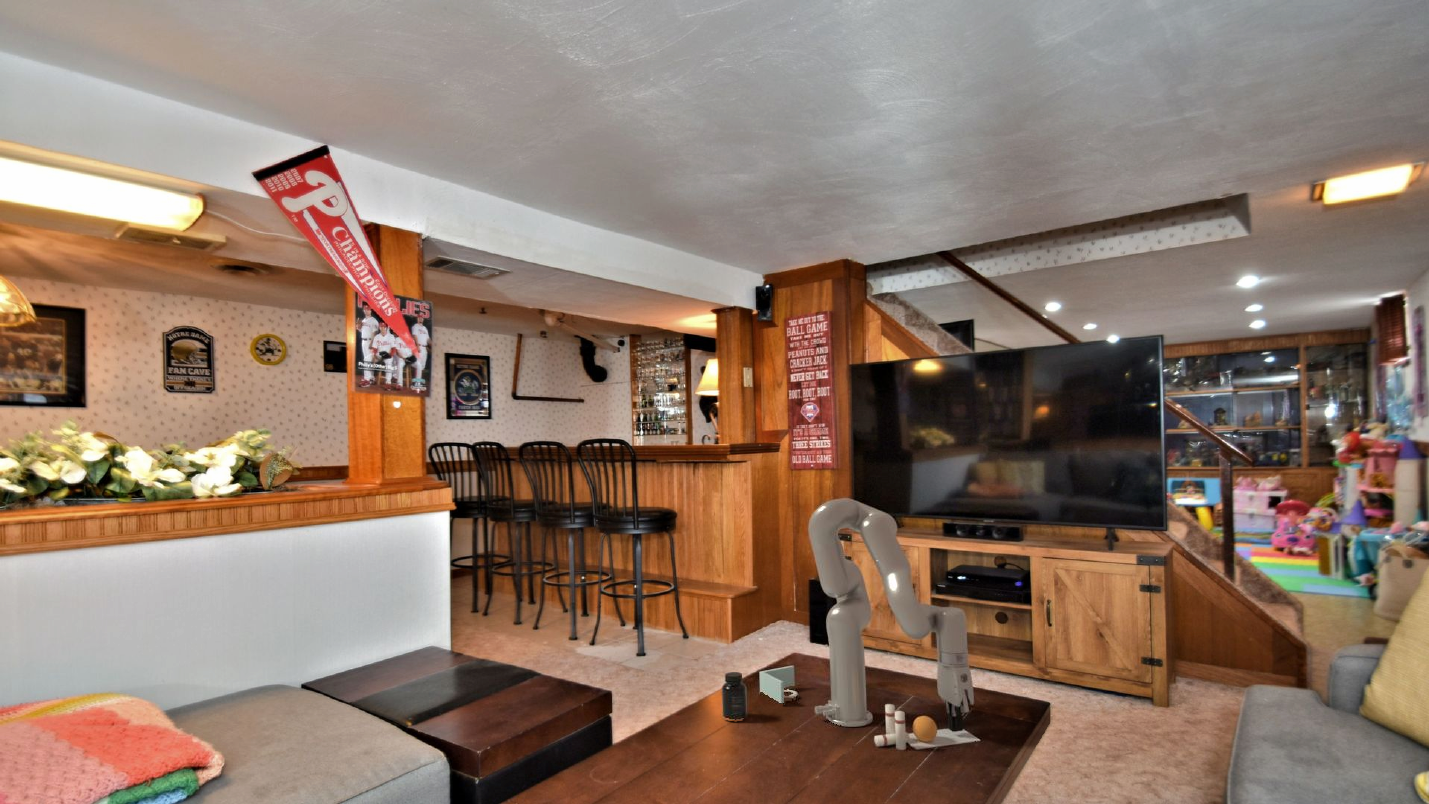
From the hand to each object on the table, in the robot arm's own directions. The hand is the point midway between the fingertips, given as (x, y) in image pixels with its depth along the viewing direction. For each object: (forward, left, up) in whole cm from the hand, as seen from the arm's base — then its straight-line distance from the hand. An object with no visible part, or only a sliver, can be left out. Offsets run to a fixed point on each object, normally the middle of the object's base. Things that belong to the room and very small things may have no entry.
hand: (955, 729), depth 182 cm
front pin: (-14, 0, 0) cm, 14 cm away
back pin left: (-17, +2, -2) cm, 17 cm away
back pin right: (-17, -2, -2) cm, 17 cm away
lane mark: (-5, 0, -2) cm, 5 cm away
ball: (-9, -1, +2) cm, 9 cm away
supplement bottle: (-51, +29, -2) cm, 59 cm away
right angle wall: (-31, +41, -2) cm, 51 cm away
